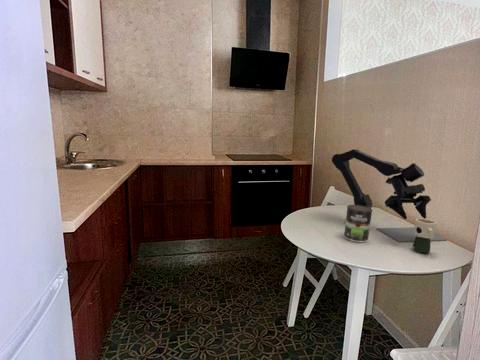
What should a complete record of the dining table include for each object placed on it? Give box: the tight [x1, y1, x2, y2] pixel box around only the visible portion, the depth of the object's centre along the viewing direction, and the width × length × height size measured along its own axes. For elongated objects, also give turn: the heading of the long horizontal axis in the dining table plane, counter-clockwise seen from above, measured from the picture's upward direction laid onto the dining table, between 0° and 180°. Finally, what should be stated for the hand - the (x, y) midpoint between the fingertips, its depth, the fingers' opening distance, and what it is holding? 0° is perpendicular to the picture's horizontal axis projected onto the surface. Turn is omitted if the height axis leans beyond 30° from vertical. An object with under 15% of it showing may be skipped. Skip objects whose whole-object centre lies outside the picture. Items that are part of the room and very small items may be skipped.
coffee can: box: [343, 204, 373, 243], centre depth 129 cm, size 10×10×14 cm
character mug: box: [411, 217, 437, 253], centre depth 118 cm, size 11×7×13 cm, turn 171°
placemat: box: [376, 226, 448, 243], centre depth 137 cm, size 24×16×1 cm, turn 99°
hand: (415, 218), depth 122 cm, fingers open, 9 cm apart
